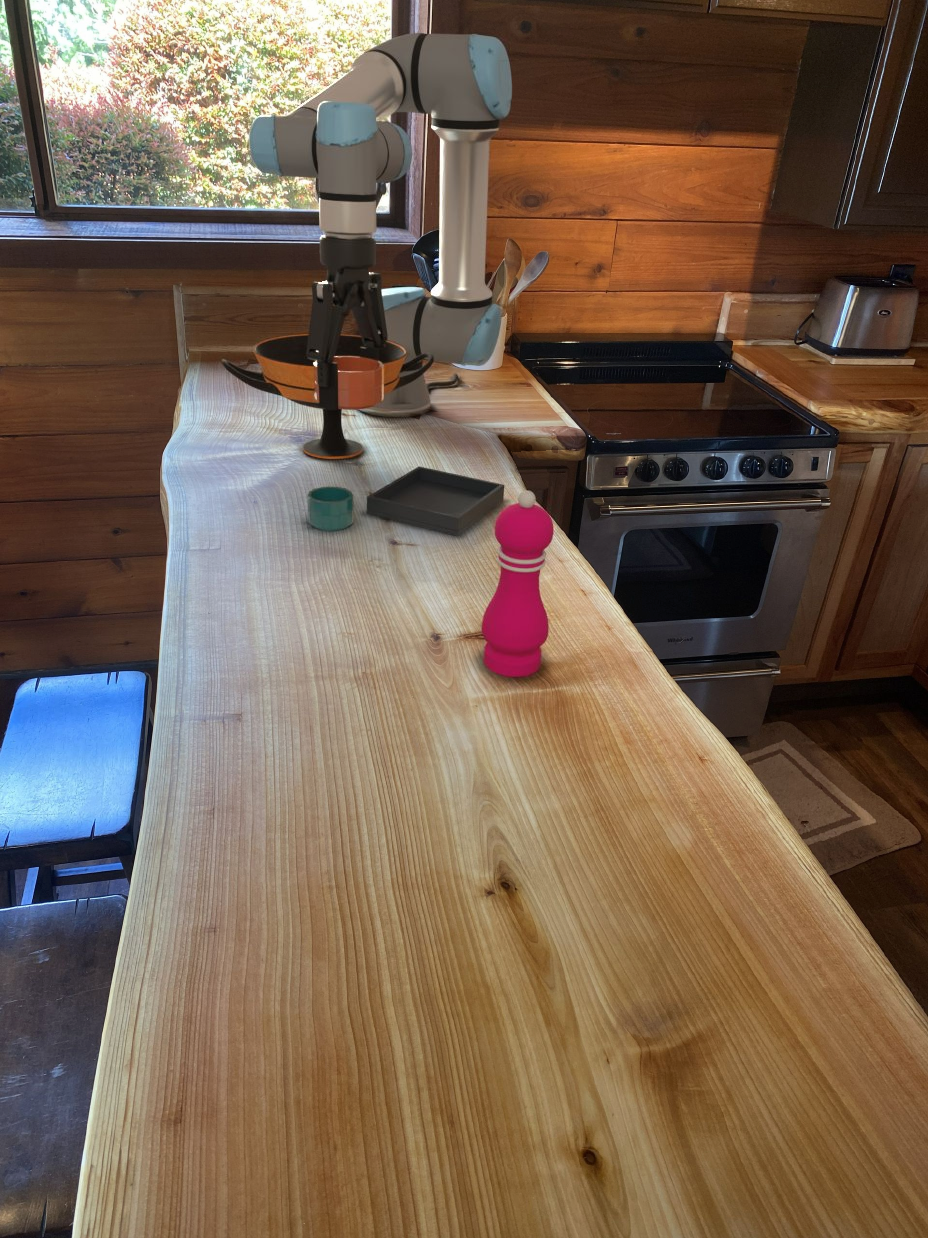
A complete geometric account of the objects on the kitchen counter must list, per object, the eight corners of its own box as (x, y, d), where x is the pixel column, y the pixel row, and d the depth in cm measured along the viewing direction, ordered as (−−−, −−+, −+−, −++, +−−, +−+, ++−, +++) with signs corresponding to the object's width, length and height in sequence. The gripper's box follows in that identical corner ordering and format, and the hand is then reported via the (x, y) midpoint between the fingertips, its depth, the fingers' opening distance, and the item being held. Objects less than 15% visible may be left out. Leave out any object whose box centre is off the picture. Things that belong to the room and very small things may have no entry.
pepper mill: (499, 686, 95) (514, 508, 85) (467, 653, 100) (478, 483, 91) (557, 672, 98) (578, 499, 88) (523, 640, 103) (539, 475, 94)
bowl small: (324, 512, 134) (324, 483, 132) (361, 521, 132) (361, 492, 130) (299, 526, 129) (298, 496, 127) (337, 535, 127) (337, 505, 124)
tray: (418, 482, 147) (418, 466, 146) (503, 501, 142) (504, 484, 140) (366, 514, 134) (366, 496, 133) (457, 536, 129) (458, 518, 127)
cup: (241, 482, 143) (233, 370, 134) (218, 434, 163) (210, 335, 155) (453, 465, 155) (458, 362, 147) (407, 423, 176) (409, 330, 167)
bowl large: (340, 389, 137) (339, 352, 134) (395, 400, 133) (396, 362, 130) (301, 403, 129) (300, 364, 126) (359, 415, 125) (359, 375, 123)
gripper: (369, 226, 130) (369, 380, 141) (272, 237, 113) (281, 413, 123) (414, 231, 128) (410, 388, 138) (322, 244, 110) (326, 423, 121)
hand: (349, 400), depth 131 cm, fingers closed on bowl large, 10 cm apart
